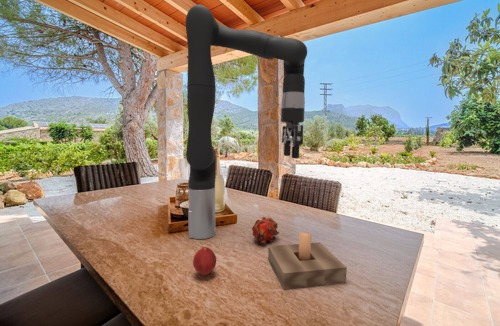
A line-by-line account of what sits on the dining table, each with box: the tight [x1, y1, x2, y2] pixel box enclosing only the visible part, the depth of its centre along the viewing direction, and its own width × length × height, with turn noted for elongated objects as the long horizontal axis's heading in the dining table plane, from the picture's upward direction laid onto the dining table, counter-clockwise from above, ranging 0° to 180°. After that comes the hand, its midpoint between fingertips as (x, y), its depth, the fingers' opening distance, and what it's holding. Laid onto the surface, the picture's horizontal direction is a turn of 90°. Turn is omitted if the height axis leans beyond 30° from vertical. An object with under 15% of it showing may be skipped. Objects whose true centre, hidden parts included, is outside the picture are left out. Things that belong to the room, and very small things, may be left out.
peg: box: [298, 231, 312, 261], centre depth 64 cm, size 3×3×10 cm
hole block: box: [267, 241, 348, 290], centre depth 64 cm, size 16×14×4 cm
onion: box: [192, 245, 217, 276], centre depth 62 cm, size 6×6×8 cm
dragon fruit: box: [251, 217, 280, 245], centre depth 82 cm, size 8×8×12 cm
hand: (290, 157), depth 81 cm, fingers open, 8 cm apart
